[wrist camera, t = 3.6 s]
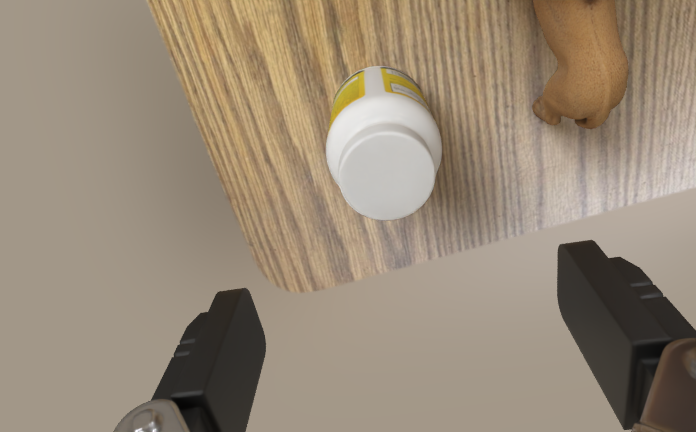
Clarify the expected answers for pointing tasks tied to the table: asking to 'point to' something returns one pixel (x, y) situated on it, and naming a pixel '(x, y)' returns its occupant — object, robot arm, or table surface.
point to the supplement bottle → (383, 144)
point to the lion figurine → (581, 61)
